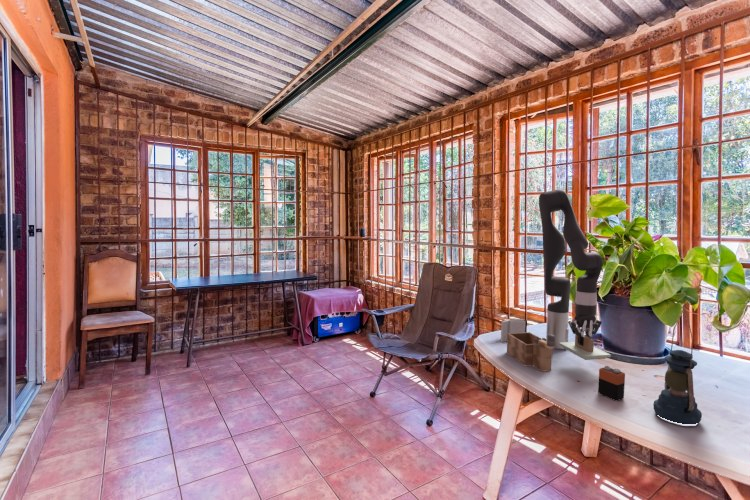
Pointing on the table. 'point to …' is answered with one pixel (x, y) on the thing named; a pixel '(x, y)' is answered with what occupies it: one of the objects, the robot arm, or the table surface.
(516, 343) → the toolbox
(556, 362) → the table surface
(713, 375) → the table surface
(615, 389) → the battery
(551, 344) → the bolt
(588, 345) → the lid
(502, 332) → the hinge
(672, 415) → the lantern
